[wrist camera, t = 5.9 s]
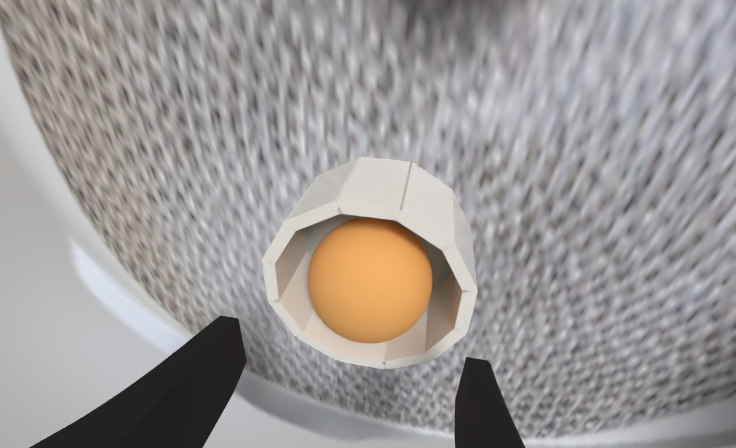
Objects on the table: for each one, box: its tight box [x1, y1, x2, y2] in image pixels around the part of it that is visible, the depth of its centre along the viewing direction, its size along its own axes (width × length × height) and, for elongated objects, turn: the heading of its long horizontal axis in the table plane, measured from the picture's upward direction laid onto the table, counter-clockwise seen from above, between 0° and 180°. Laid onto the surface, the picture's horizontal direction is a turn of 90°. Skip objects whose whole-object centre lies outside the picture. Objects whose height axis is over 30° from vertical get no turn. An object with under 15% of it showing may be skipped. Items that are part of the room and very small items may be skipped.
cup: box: [262, 157, 477, 370], centre depth 16 cm, size 8×8×4 cm
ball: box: [307, 217, 433, 343], centre depth 15 cm, size 5×5×5 cm
